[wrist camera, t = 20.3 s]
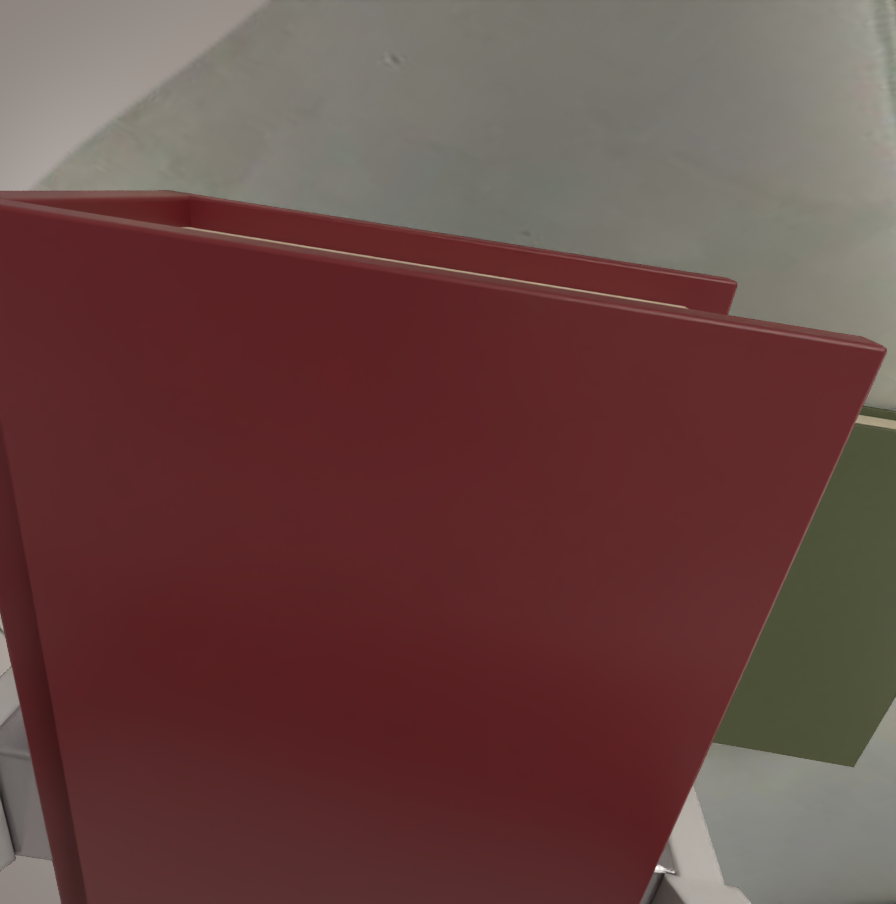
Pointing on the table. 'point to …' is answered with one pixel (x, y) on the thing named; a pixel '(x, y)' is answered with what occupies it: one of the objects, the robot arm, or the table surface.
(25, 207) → the burgundy book
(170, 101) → the table surface
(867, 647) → the olive book
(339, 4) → the table surface
